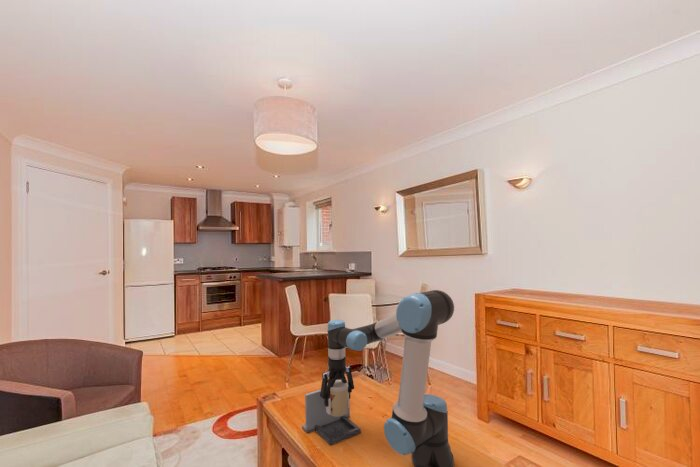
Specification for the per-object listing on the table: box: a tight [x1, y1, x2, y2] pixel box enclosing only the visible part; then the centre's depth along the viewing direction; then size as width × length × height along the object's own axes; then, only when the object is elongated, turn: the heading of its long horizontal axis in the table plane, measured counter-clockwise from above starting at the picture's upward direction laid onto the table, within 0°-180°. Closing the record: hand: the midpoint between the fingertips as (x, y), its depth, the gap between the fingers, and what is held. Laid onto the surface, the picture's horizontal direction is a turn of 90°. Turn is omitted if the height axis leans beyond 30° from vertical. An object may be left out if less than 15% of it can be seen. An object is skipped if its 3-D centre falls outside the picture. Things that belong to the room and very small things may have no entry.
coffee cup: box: [327, 380, 348, 417], centre depth 144 cm, size 9×9×12 cm
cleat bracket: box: [315, 415, 362, 446], centre depth 144 cm, size 14×15×2 cm
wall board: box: [301, 384, 351, 434], centre depth 152 cm, size 5×22×16 cm, turn 124°
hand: (337, 409), depth 144 cm, fingers closed on coffee cup, 9 cm apart
